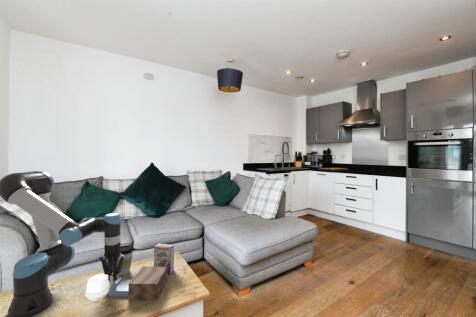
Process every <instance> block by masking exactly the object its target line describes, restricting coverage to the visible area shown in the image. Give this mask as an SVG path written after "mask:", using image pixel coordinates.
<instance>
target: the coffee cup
mask: <svg viewBox="0 0 476 317" xmlns="http://www.w3.org/2000/svg"><path fill="white" fill-rule="evenodd" d="M120 251H121V254H122V255H126V257H125V258H124V260H123V265H122V269H121V272H120V273H119V274H118V275H119V276H125V275H128V274H129V273H130V272H131V266H132V261H133V260H132V259H133V251H134V248H133V246H132V245H129V244H128V245H121V249H120ZM119 258H120V256H119ZM119 258H118V264H119V260H120V259H119Z"/></svg>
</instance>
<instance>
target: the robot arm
mask: <svg viewBox="0 0 476 317" xmlns="http://www.w3.org/2000/svg"><path fill="white" fill-rule="evenodd" d="M54 185H55V181H54V178H53V176H52V175H51V174H49V172H46V171H41V170H38V171H37V170H34V171H25V172H13V173H12V172H11V173H9V174H6V175H5V176H3V177H2V178H1V179H0V198H1V199H2V200H3V201H5V202H6V203H8V204H9V205H16V206H17V207H18V208H20V209H21V210H22V211H24V212H26V213H27V214H28V215H30V216H31V219H32V222H33V226H34V229H35V232H36V235H37V239H38V243H39V245H40V246H39V248H38V249H37V252H36V253H32V254H29V255H26V256H24V257H23V258H20V259H19V260H18V261H17V262H15V264H14V266H13V271H12V282H13V285H12V286H13V287H12V288H13V290H12V291H13V296H12V299H11V301H10V304H9V307H8V309H7V317H32V316H35V315H37V314H39V313H41V312H43V311H44V310H46V309H47V308H49V306H51V305H52V303H53V300H54V298H53V294H52V292H51V290H50V288H49V277H50V276H52V275H54V274H55V273H57V272H58V271H59V270H61V269H63V268H65V267H66V266H67V265H69V264H70V263H71V262H72V261H73V259H74V257H75V254H76V252H75V247H74V244H78V242H80V241H81V240H83V239H85V238H87V237H89V236H91V235H92V234H94V233H103V235H104V236H103V238H104V239H103V240H104V244H103V245H104V246H103V248H104V253H103V254H102V255H101V256H99V260H100V263H101V265H102V270H103V274H104V275H107V278H108V282H109V288H110V287H111V286H112V285H113V284H114V283H115V282H116V281H117V280H118V275H119V273H120V272H121V269H122V265H123V260H124V258H125V257H126V255H122V254H121V251H120V249H121V246H122V243H121V241H122V239H121V236H122V235H121V226H122V224H121V223H122V219H121V214H120V213H118V212H111V213H106V214H105V215H104V217H84V218H82V219H81V220H80V221H79V223H78V222H77V221H75V220H74V219H72V218H70V217H69V216H68V215H66V214H65V213H63V212H62V211H61V210H59V209H57V208H56V207H55V206H53V205H52V203H51V200H50V196H51V194H52V190H51V189H53V188H54ZM119 256H120V258H119ZM118 258H119V259H120V260H119V264H118Z"/></svg>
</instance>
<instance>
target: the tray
mask: <svg viewBox="0 0 476 317" xmlns="http://www.w3.org/2000/svg"><path fill="white" fill-rule="evenodd" d="M131 280H132V279H123V277H120V276H119V278H117V280H116V282H115V283H114V284H113V285H112V286H111V287H110V286H109V288H108V297H129V283H130V281H131Z"/></svg>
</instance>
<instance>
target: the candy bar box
mask: <svg viewBox="0 0 476 317" xmlns="http://www.w3.org/2000/svg"><path fill="white" fill-rule="evenodd" d="M153 252H154V254H153V257H154V258H153V266H157V267H167V275H171V274H172V273H173V271H175V270H174V269H175V245H174V244H169V243H168V244H166V243H157V244H156V245H154V248H153Z"/></svg>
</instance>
